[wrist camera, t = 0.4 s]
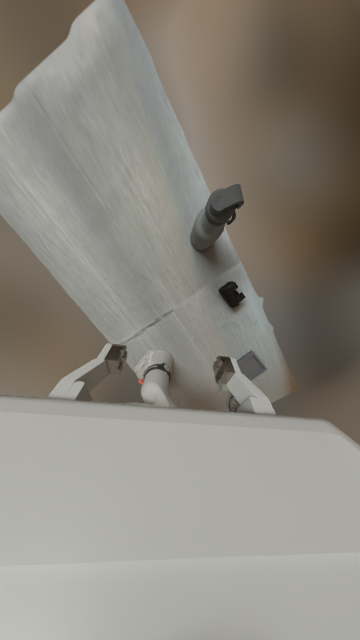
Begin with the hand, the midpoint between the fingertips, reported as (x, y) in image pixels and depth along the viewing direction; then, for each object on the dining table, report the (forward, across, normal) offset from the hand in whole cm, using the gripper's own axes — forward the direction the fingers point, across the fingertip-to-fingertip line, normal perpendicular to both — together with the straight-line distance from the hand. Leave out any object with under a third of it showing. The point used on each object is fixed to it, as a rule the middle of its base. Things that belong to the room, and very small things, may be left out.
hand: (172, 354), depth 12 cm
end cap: (+51, +26, -13) cm, 59 cm away
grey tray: (+38, +48, -49) cm, 78 cm away
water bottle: (+59, +9, +6) cm, 60 cm away
